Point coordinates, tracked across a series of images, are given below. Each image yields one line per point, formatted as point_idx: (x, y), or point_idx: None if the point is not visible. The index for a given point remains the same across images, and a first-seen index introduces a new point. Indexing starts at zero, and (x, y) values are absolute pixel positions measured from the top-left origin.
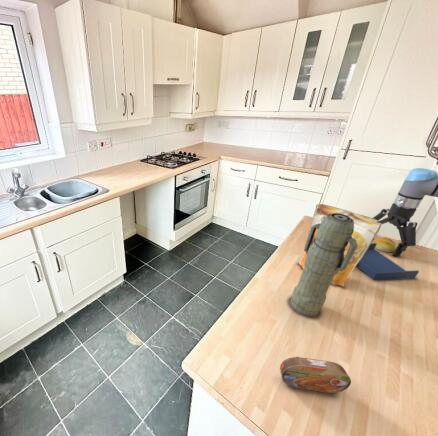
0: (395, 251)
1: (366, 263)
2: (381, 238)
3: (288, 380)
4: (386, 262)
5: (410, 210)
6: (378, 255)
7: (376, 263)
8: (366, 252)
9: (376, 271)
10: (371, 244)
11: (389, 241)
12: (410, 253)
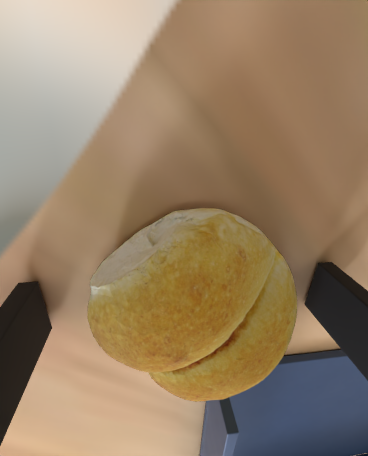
0: (341, 339)
1: (314, 442)
2: (154, 371)
3: None
4: (346, 381)
5: None
6: (286, 382)
7: (331, 416)
8: (243, 415)
9: (365, 434)
10: (231, 449)
11: (226, 332)
12: (340, 112)
